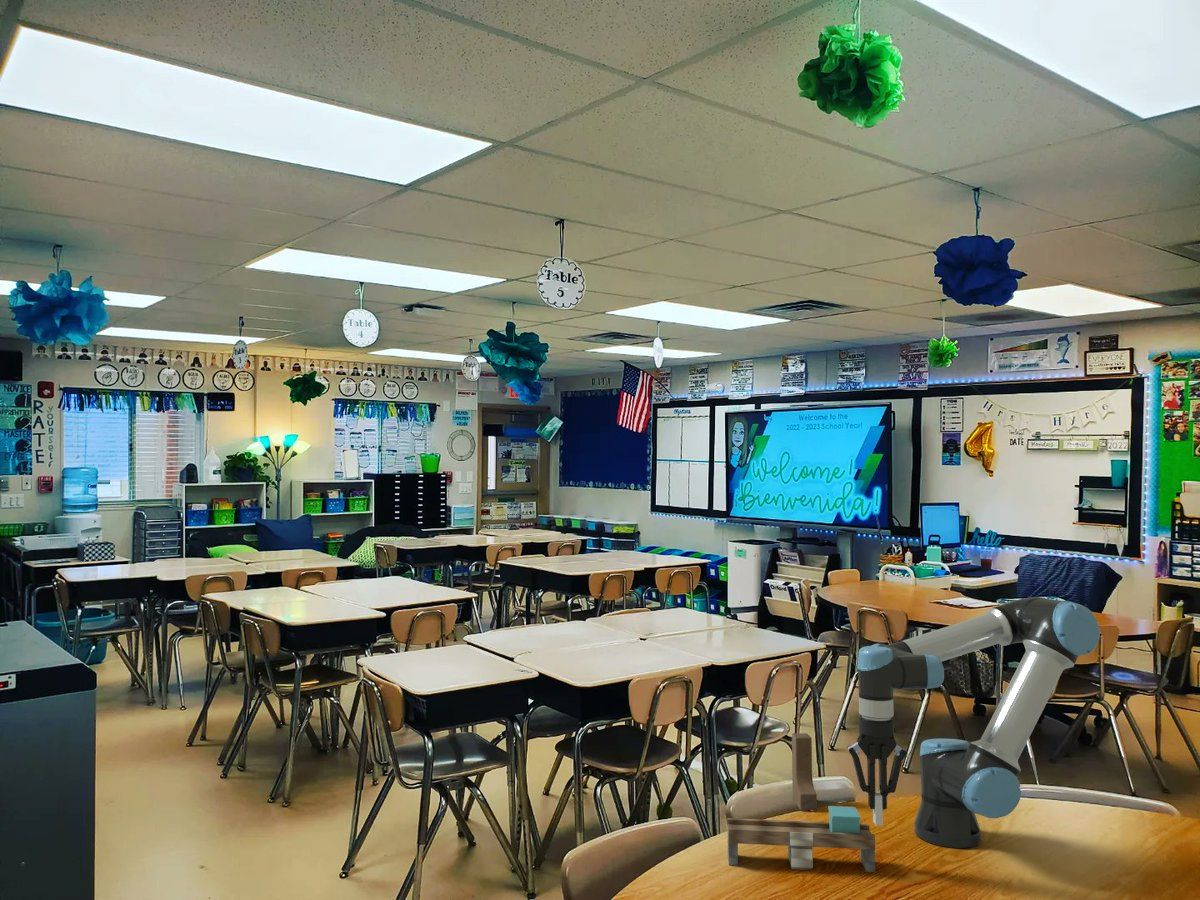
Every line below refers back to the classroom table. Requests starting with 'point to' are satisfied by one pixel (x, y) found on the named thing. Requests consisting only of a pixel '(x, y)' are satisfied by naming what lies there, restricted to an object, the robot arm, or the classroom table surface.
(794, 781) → the wooden block
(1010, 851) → the classroom table surface
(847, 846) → the wooden bench
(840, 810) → the rider
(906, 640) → the robot arm
